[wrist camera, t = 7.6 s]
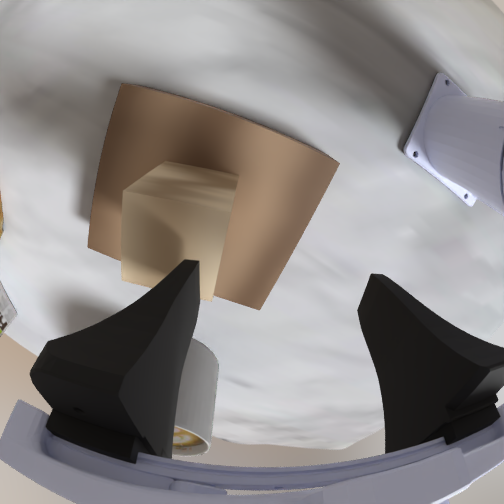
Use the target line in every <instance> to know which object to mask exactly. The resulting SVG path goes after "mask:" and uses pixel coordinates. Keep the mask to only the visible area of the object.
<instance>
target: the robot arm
mask: <svg viewBox="0 0 504 504" xmlns="http://www.w3.org/2000/svg"><path fill="white" fill-rule="evenodd" d="M445 80H446V81H447V85H446V84H445ZM414 152H416V155H415V157H414V156H413V153H414ZM404 154H405V155H406V156H407V157H409V158H410V159H411V160H413V161H414V162H416V163H417V164H418V165H420V166H421V167H422V168H424V169H425V170H426V171H428V172H429V173H430V174H431V175H433V176H434V177H435V178H436V179H438V180H439V181H440V182H441V183H443V184H444V185H445V186H446V187H447V188H449V189H450V190H451V191H452V192H453V193H455V194H456V195H457V196H458V197H459V198H460V199H461V200H462V201H464V202H465V203H466V204H467V205H468V206H472V205H473V204H474V203H475V201H476V199H478V200H480V201H481V202H483V203H485V204H486V205H488V206H489V207H491V208H492V209H494V210H495V211H497V212H498V213H500V214H501V215H503V216H504V101H498V100H492V99H485V98H478V97H469V96H467V95H466V94H465V93H464V92H463V91H462V90H461V89H460V88H459V87H458V86H457V85H456V84H455V83H454V82H452V81H451V80H450V79H449V78H448V77H447V76H446V75H445V74H444V73H437V75H436V77H435V80H434V82H433V85H432V87H431V89H430V92H429V94H428V97H427V99H426V101H425V104H424V106H423V108H422V110H421V113H420V115H419V117H418V119H417V121H416V124H415V126H414V128H413V130H412V132H411V134H410V136H409V139H408V141H407V143H406V145H405V147H404ZM465 194H466V195H465ZM464 195H465V197H464ZM199 305H200V261H199V260H188V259H184V260H183V261H182V262H181V263H180V264H179V265H178V266H177V267H175V268H174V269H173V270H172V271H171V272H170V273H169V274H168V275H167V276H166V277H165V278H164V279H162V280H161V281H160V282H159V283H158V284H157V285H156V286H155V287H153V288H152V289H151V290H150V291H148V292H147V293H146V294H145V295H143V296H142V297H141V298H140V299H138V300H137V301H135V302H134V303H132V304H131V305H129V306H128V307H126V308H125V309H123V310H121V311H120V312H118V313H116V314H114V315H112V316H111V317H109V318H107V319H105V320H103V321H101V322H99V323H97V324H95V325H93V326H90V327H88V328H86V329H83V330H81V331H78V332H76V333H73V334H70V335H67V336H63V337H60V338H57V339H54V340H50V341H48V342H47V343H46V345H45V347H44V348H43V350H42V352H41V353H40V355H39V357H38V358H37V360H36V362H35V363H34V365H33V367H32V369H31V371H30V377H31V380H32V383H33V384H34V386H35V387H36V389H37V390H38V391H39V393H40V394H41V395H42V396H43V398H44V399H45V400H46V401H47V403H48V404H49V405H50V406H51V407H52V408H53V410H52V412H51V414H50V416H49V415H48V414H46V413H45V412H44V411H42V410H40V409H38V408H36V407H34V406H32V405H30V404H28V403H26V402H24V401H22V400H18V401H17V403H16V405H15V407H14V409H13V411H12V413H11V416H10V418H9V420H8V422H7V424H6V427H5V429H4V432H3V434H2V436H1V439H0V459H1V460H2V461H4V462H5V463H7V464H8V465H9V466H11V467H12V468H14V469H15V470H17V471H18V472H20V473H22V474H23V475H25V476H26V477H28V478H30V479H31V480H33V481H34V482H36V483H38V484H39V485H41V486H43V487H45V488H47V489H49V490H50V491H52V492H54V493H56V494H58V495H60V496H62V497H64V498H66V499H68V500H70V501H72V502H75V503H76V504H449V498H451V497H453V496H455V495H456V494H458V493H460V492H462V491H464V490H465V489H467V488H468V487H469V486H470V484H471V483H472V482H474V481H476V480H477V479H479V478H480V477H482V476H483V475H485V474H487V473H488V472H489V471H491V470H492V469H494V468H495V467H496V466H498V465H499V464H501V463H502V462H504V404H502V405H501V406H499V407H498V408H496V406H495V403H496V402H497V401H498V398H497V395H496V393H497V392H498V391H499V390H500V389H501V388H502V387H503V386H504V348H503V347H499V346H497V345H493V344H491V343H488V342H486V341H483V340H481V339H479V338H477V337H474V336H472V335H470V334H468V333H466V332H465V331H463V330H461V329H459V328H457V327H455V326H454V325H452V324H451V323H449V322H447V321H446V320H444V319H443V318H441V317H440V316H438V315H437V314H435V313H434V312H433V311H431V310H430V309H429V308H427V307H426V306H424V305H423V304H422V303H421V302H419V301H418V300H417V299H415V298H414V297H413V296H412V295H410V294H409V293H408V292H407V291H405V290H404V289H403V288H402V287H400V286H399V285H398V284H396V283H395V282H394V281H392V280H391V279H390V278H388V277H386V276H385V275H383V274H371V275H370V278H369V281H368V283H367V286H366V289H365V292H364V294H363V297H362V299H361V302H360V305H359V307H358V310H357V311H358V316H359V321H360V325H361V329H362V332H363V335H364V338H365V341H366V344H367V346H368V349H369V352H370V355H371V357H372V360H373V363H374V366H375V369H376V372H377V376H378V380H379V385H380V390H381V395H382V402H383V410H384V421H385V454H382V455H378V456H374V457H368V458H363V459H358V460H351V461H345V462H338V463H330V464H321V465H311V466H297V467H235V466H221V465H211V464H202V463H194V462H187V461H180V460H174V459H172V448H173V435H174V426H175V416H176V408H177V401H178V394H179V387H180V381H181V375H182V371H183V366H184V363H185V359H186V356H187V352H188V349H189V346H190V342H191V339H192V336H193V332H194V329H195V326H196V322H197V317H198V311H199ZM323 486H325V487H323ZM315 487H323V488H319V489H311V490H303V491H296V492H286V493H274V494H258V495H227V491H226V490H224V489H231V490H291V489H305V488H315Z"/></svg>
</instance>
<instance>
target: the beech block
mask: <svg viewBox="0 0 504 504" xmlns="http://www.w3.org/2000/svg"><path fill="white" fill-rule="evenodd" d="M238 178H239V175H234V174H230V173H225V172H221V171H216V170H211V169H206V168H201V167H196V166H191V165H185V164H180V163H174V162H168V161H165V162H163V163H162V164H160V165H159V166H157V167H156V168H154V169H153V170H151V171H150V172H148V173H147V174H146V175H144V176H143V177H141V178H140V179H138V180H137V181H136V182H134V183H133V184H132V185H130V186H129V187H127V188H126V189H125V190H123V199H122V221H121V274H122V281H126V282H130V283H134V284H138V285H142V286H146V287H150V288H153V287H155V286H156V285H157V284H158V283H159V282H160V281H161V280H162V279H164V278H165V277H166V276H167V275H168V274H169V273H170V272H171V271H172V270H173V269H174V268H175V267H177V266H178V265H179V264H180V263H181V262H182V261H183V260H184V259H188V260H199V261H200V299H202V300H207V301H211V302H212V299H213V294H214V289H215V284H216V279H217V275H218V270H219V265H220V261H221V256H222V251H223V247H224V242H225V238H226V233H227V229H228V225H229V220H230V216H231V211H232V206H233V202H234V197H235V192H236V187H237V183H238Z"/></svg>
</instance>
